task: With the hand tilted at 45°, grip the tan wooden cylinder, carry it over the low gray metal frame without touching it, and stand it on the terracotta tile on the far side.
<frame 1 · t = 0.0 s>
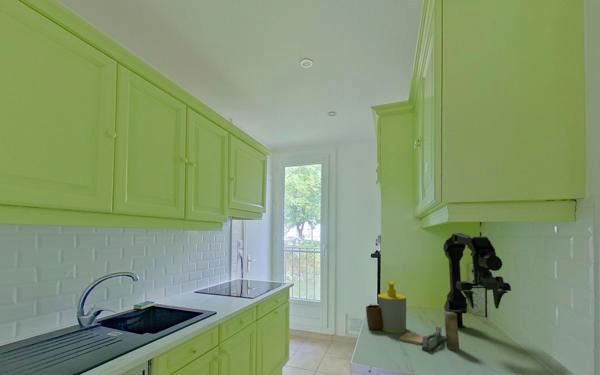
hand: (484, 308, 121), 15 cm above the countertop, tool pointing down, fingers open, 9 cm apart
tan wooden cylinder: (452, 348, 118), on the countertop
soap bottle: (393, 329, 143), on the countertop, touching mug
terracotta tile: (414, 339, 128), on the countertop
gray metal frame: (432, 343, 123), on the countertop
mug: (375, 326, 146), on the countertop, touching soap bottle
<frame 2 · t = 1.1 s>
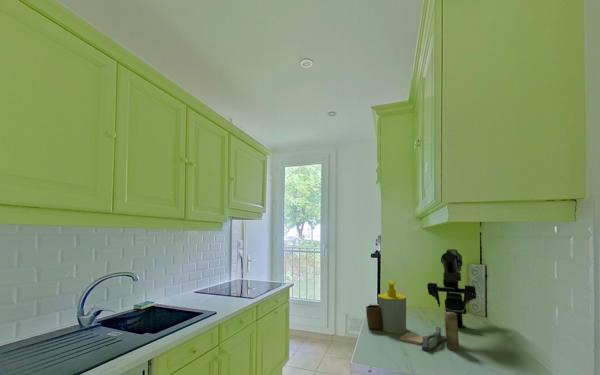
hand: (451, 307, 127), 14 cm above the countertop, tool tilted 45°, fingers open, 9 cm apart
nothing on the countertop moved.
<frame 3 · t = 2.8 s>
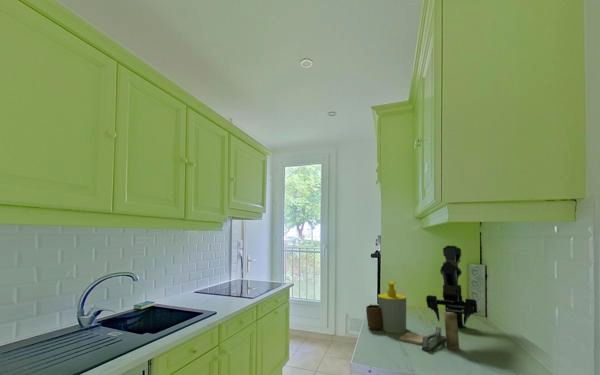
hand: (451, 322, 121), 9 cm above the countertop, tool tilted 45°, fingers open, 9 cm apart
nothing on the countertop moved.
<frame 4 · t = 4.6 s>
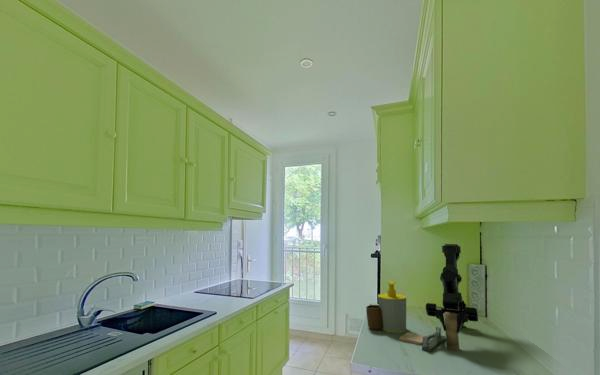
hand: (451, 331, 118), 7 cm above the countertop, tool tilted 45°, fingers closed on tan wooden cylinder, 4 cm apart
tan wooden cylinder: (452, 348, 118), on the countertop, touching gripper
everything else where it was.
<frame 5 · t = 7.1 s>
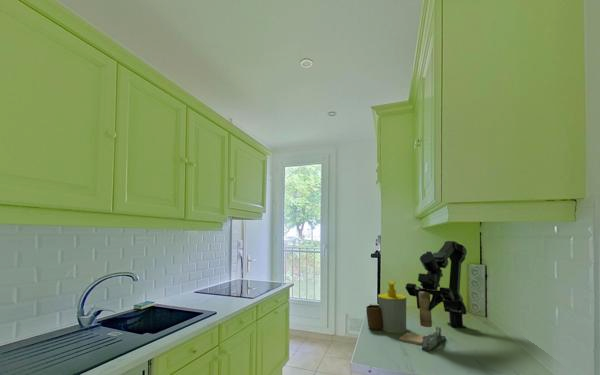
hand: (423, 309, 125), 13 cm above the countertop, tool tilted 45°, fingers closed on tan wooden cylinder, 4 cm apart
tan wooden cylinder: (426, 325, 125), point 7 cm above the countertop, touching gripper
everything else where it was.
when the fingers open (9 cm above the countertop, at t = 9.6 s): tan wooden cylinder drops 1 cm, resting on terracotta tile.
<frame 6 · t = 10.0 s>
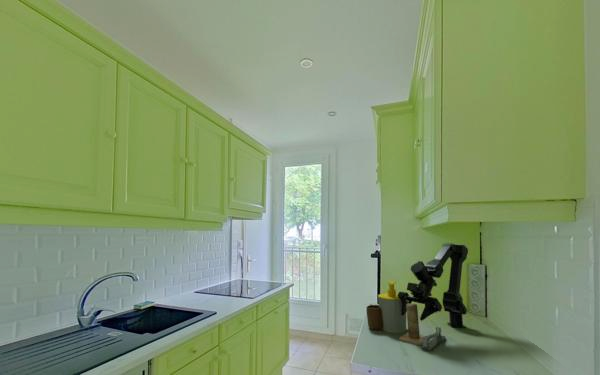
hand: (411, 317, 129), 9 cm above the countertop, tool tilted 45°, fingers open, 9 cm apart
tan wooden cylinder: (414, 336, 128), point 1 cm above the countertop, touching terracotta tile
everything else where it was.
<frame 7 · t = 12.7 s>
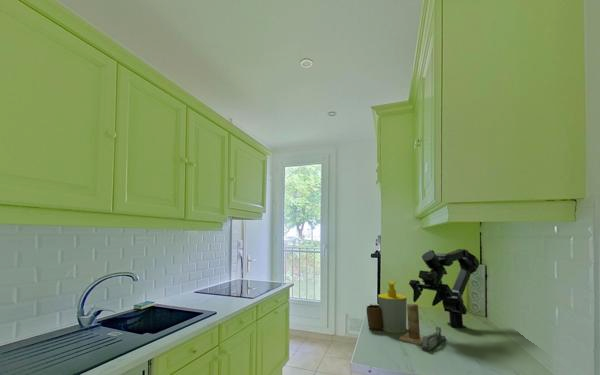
hand: (423, 303, 134), 14 cm above the countertop, tool tilted 45°, fingers open, 9 cm apart
nothing on the countertop moved.
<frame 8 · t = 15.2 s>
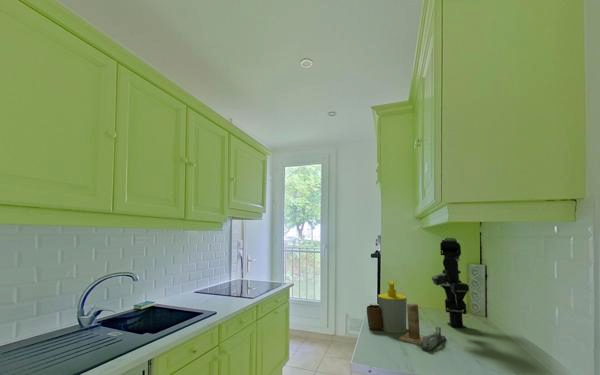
hand: (454, 304, 136), 13 cm above the countertop, tool pointing down, fingers open, 9 cm apart
nothing on the countertop moved.
at the end: tan wooden cylinder inside the target area on the terracotta tile (0.0 cm from its centre), point 1.0 cm above the terracotta tile's base; tan wooden cylinder tilted 0°; tan wooden cylinder touching terracotta tile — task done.
